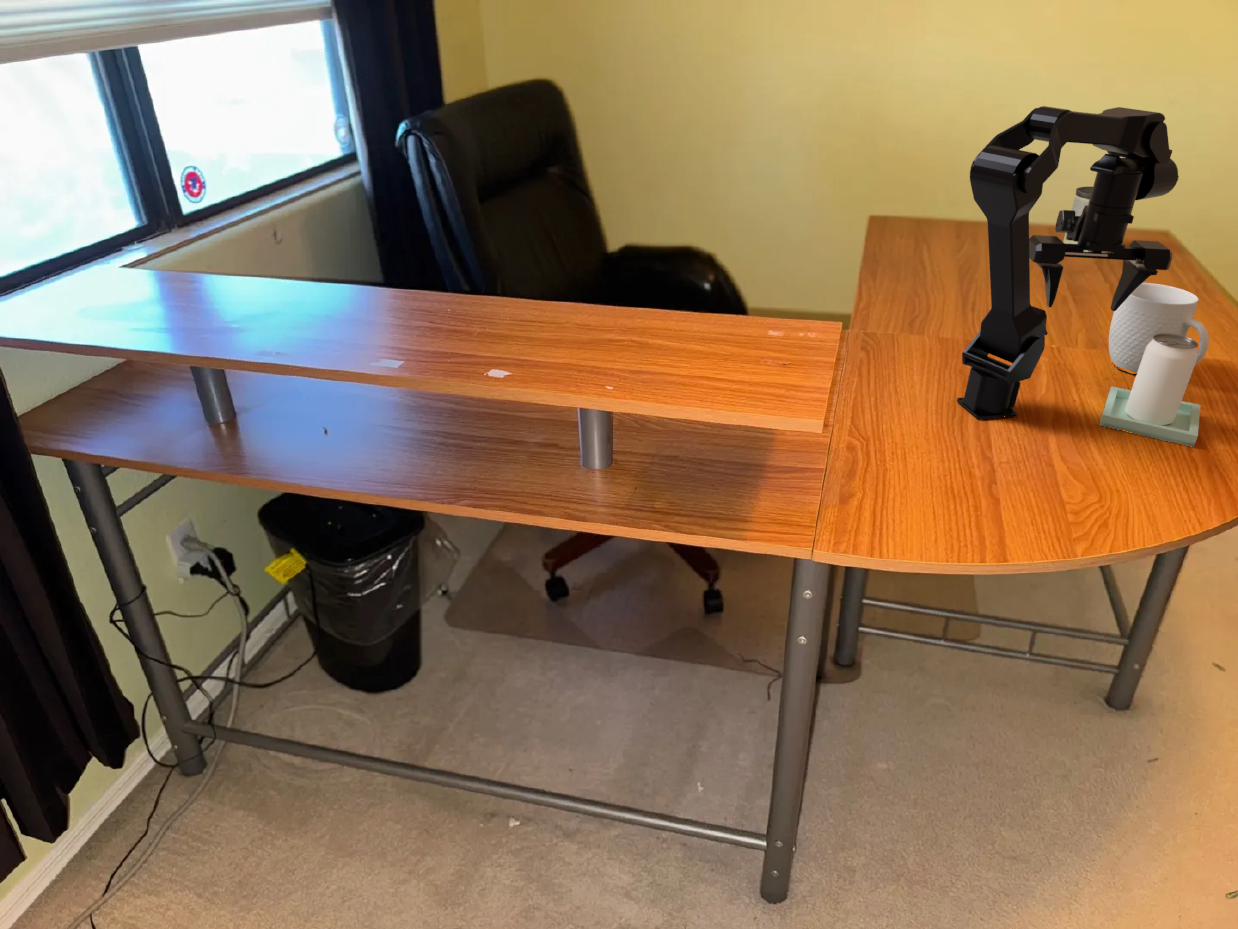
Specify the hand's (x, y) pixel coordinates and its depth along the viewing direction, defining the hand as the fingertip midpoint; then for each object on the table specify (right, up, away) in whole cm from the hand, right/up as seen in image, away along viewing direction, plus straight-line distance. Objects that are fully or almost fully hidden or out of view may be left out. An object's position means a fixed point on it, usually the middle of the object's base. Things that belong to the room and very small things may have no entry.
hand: (1080, 308), depth 133 cm
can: (+8, -17, -4) cm, 19 cm away
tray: (+8, -17, -4) cm, 19 cm away
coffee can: (+40, +27, +75) cm, 89 cm away
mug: (+17, -8, +13) cm, 23 cm away
